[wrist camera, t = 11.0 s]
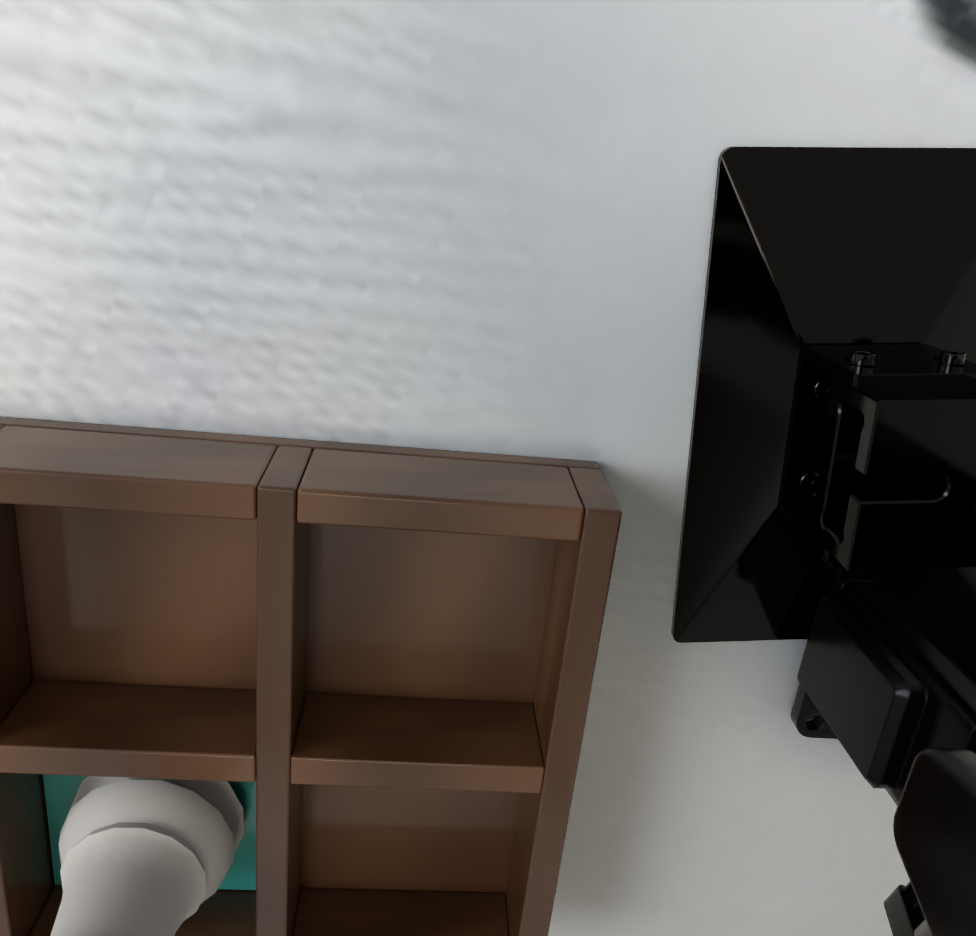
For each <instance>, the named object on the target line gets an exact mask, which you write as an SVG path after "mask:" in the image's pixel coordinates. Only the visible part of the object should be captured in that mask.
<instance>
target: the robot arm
mask: <svg viewBox="0 0 976 936" xmlns="http://www.w3.org/2000/svg"><path fill="white" fill-rule="evenodd" d="M798 680H799V682H800V684H799V687H798V691H797V695H796V698H795V702H794V705H793V709H792V712H791V719H792V721H793V723H794V725H795V726H796V728H797V730H798V731H799V733H801V734H802V735H803V736H806V737H811V738H834V739H838V740H839V741H840V743H841V744H842V745H843V747H844V748H845V750H846V751H847V753H848V754H849V756H850V757H851V759H852V760H853V762H854V763H855V765H856V766H857V768H858V769H859V771H860V772H861V774H862V775H863V777H864V778H865V779H866V780H867V782H868V783H869V784H870V785H871V786H872V787H873V788H884V789H886V790H887V792H888V793H889V795H890V796H891V797H892V799H893V800H894V802H895V803H896V805H897V806H898V807H897V809H896V812H895V816H894V825H893V827H894V837H895V842H896V845H897V848H898V851H899V853H900V856H901V859H902V861H903V864H904V866H905V869H906V871H907V874H908V876H909V879H910V882H909V883H908V884H907V885H906V886H904V885H899V886H898V887H897V888H896V889H895V890H894V891H893V893H892V894H891V895H890V896H889V897H888V898H887V899H886V900H885V901H884V906H885V910H886V913H887V917H888V920H889V923H890V927H891V930H892V933H893V936H976V567H958V568H918V569H878V570H847V569H846V568H845V567H844V566H843V565H842V564H841V563H840V564H839V566H838V569H837V571H836V574H835V576H834V579H833V581H832V584H831V587H830V589H829V592H828V593H827V594H825V595H824V596H823V597H822V598H821V599H820V600H819V602H818V605H817V608H816V612H815V615H814V619H813V623H812V626H811V630H810V633H809V637H808V640H807V644H806V648H805V651H804V655H803V658H802V662H801V665H800V669H799V673H798ZM814 715H816V717H815V718H814V719H812V720H810V721H807V719H808V718H809V717H811V716H814Z"/></svg>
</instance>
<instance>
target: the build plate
mask: <svg viewBox="0 0 976 936" xmlns="http://www.w3.org/2000/svg"><path fill="white" fill-rule="evenodd" d="M840 563H841V564H842V565H843V566H844V567H845V568H846V569H847V570H878V569H918V568H958V567H976V148H835V147H728V148H726V149H725V150H723V151H722V152H721V154H720V156H719V160H718V169H717V179H716V189H715V199H714V209H713V219H712V229H711V239H710V249H709V259H708V269H707V279H706V289H705V299H704V309H703V319H702V329H701V339H700V350H699V360H698V370H697V380H696V390H695V400H694V410H693V420H692V430H691V440H690V450H689V460H688V470H687V480H686V490H685V500H684V510H683V520H682V530H681V540H680V550H679V560H678V570H677V580H676V590H675V600H674V610H673V620H672V630H671V633H672V636H673V638H674V640H675V641H677V642H680V643H684V642H718V641H752V640H785V639H808V637H809V633H810V630H811V626H812V623H813V619H814V615H815V612H816V608H817V605H818V602H819V600H820V599H821V598H822V597H823V596H824V595H825V594H827V593H828V592H829V589H830V587H831V584H832V581H833V579H834V576H835V574H836V571H837V569H838V566H839V564H840Z"/></svg>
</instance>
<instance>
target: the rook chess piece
mask: <svg viewBox="0 0 976 936" xmlns="http://www.w3.org/2000/svg"><path fill="white" fill-rule="evenodd" d="M243 835H244V817H243V808H242V806H241V804H240V802H239V800H238V799H237V797H236V795H235V793H234V791H233V790H232V788H231V786H230V784H229V783H228V782H227V781H207V780H180V779H153V778H126V777H100V776H88V777H87V778H85V779H84V780H83V781H82V783H81V785H80V787H79V790H78V792H77V794H76V797H75V799H74V801H73V804H72V807H71V809H70V811H69V813H68V816H67V818H66V820H65V822H64V825H63V827H62V829H61V832H60V838H59V852H60V860H61V869H60V874H61V881H62V889H63V896H62V901H61V904H60V907H59V910H58V913H57V917H56V920H55V923H54V926H53V929H52V932H51V935H50V936H174V935H175V933H176V931H177V930H178V928H179V927H180V925H181V924H182V922H183V921H185V920H186V919H187V918H189V917H190V916H192V915H193V914H194V913H196V912H197V910H198V908H199V906H200V904H201V903H202V902H204V901H205V900H206V899H208V898H209V897H210V896H212V895H213V894H215V892H216V891H217V889H218V888H219V886H220V885H221V883H222V882H223V880H224V878H225V876H226V874H227V872H228V870H229V869H230V867H231V865H232V863H233V861H234V852H235V850H236V848H237V847H238V845H239V843H240V841H241V839H242V837H243Z"/></svg>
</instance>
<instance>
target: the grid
mask: <svg viewBox="0 0 976 936" xmlns="http://www.w3.org/2000/svg"><path fill="white" fill-rule="evenodd" d="M621 516H622V512H621V510H620V508H619V506H618V504H617V502H616V500H615V498H614V496H613V494H612V492H611V490H610V488H609V486H608V484H607V482H606V480H605V478H604V476H603V474H602V472H601V470H600V468H599V466H598V464H597V462H591V461H577V460H564V459H551V458H538V457H524V456H511V455H498V454H485V453H471V452H458V451H445V450H431V449H418V448H405V447H392V446H378V445H365V444H352V443H339V442H325V441H312V440H299V439H285V438H272V437H259V436H246V435H232V434H219V433H206V432H193V431H179V430H166V429H153V428H139V427H126V426H113V425H100V424H86V423H73V422H60V421H47V420H33V419H20V418H7V417H0V936H50V935H51V932H52V929H53V926H54V923H55V920H56V917H57V913H58V910H59V907H60V904H61V901H62V896H63V889H62V881H61V874H60V869H61V860H60V852H59V838H60V832H61V829H62V827H63V825H64V822H65V820H66V818H67V816H68V813H69V811H70V809H71V807H72V804H73V801H74V799H75V797H76V794H77V792H78V790H79V787H80V785H81V783H82V781H83V780H84V779H85V778H87V777H88V776H100V777H126V778H153V779H180V780H207V781H227V782H228V783H229V784H230V786H231V788H232V790H233V791H234V793H235V795H236V797H237V799H238V800H239V802H240V804H241V806H242V808H243V817H244V835H243V837H242V839H241V841H240V843H239V845H238V847H237V848H236V850H235V852H234V861H233V863H232V865H231V867H230V869H229V870H228V872H227V874H226V876H225V878H224V880H223V882H222V883H221V885H220V886H219V888H218V889H217V891H216V892H215V894H213V895H212V896H210V897H209V898H208V899H206V900H205V901H204V902H202V903H201V904H200V906H199V908H198V910H197V912H196V913H194V914H193V915H192V916H190V917H189V918H187V919H186V920H185V921H183V922H182V924H181V925H180V927H179V928H178V930H177V931H176V933H175V935H174V936H548V932H549V926H550V921H551V915H552V909H553V903H554V898H555V892H556V886H557V881H558V875H559V869H560V864H561V858H562V852H563V846H564V841H565V835H566V829H567V824H568V818H569V812H570V807H571V801H572V795H573V789H574V784H575V778H576V772H577V767H578V761H579V755H580V750H581V744H582V738H583V732H584V727H585V721H586V715H587V710H588V704H589V698H590V693H591V687H592V681H593V675H594V670H595V664H596V658H597V653H598V647H599V641H600V636H601V630H602V624H603V619H604V613H605V607H606V601H607V596H608V590H609V584H610V579H611V573H612V567H613V562H614V556H615V550H616V544H617V539H618V533H619V527H620V522H621Z"/></svg>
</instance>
